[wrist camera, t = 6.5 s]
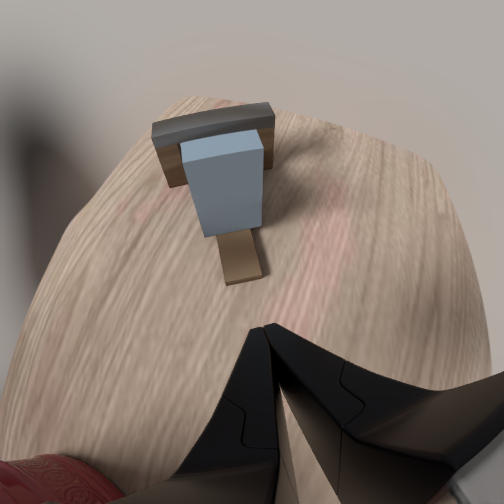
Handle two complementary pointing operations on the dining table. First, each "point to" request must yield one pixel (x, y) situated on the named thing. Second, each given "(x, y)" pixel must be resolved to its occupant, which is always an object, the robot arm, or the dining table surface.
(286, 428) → the robot arm
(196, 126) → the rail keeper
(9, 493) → the canister
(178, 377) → the dining table surface
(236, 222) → the light blue l-shaped block
